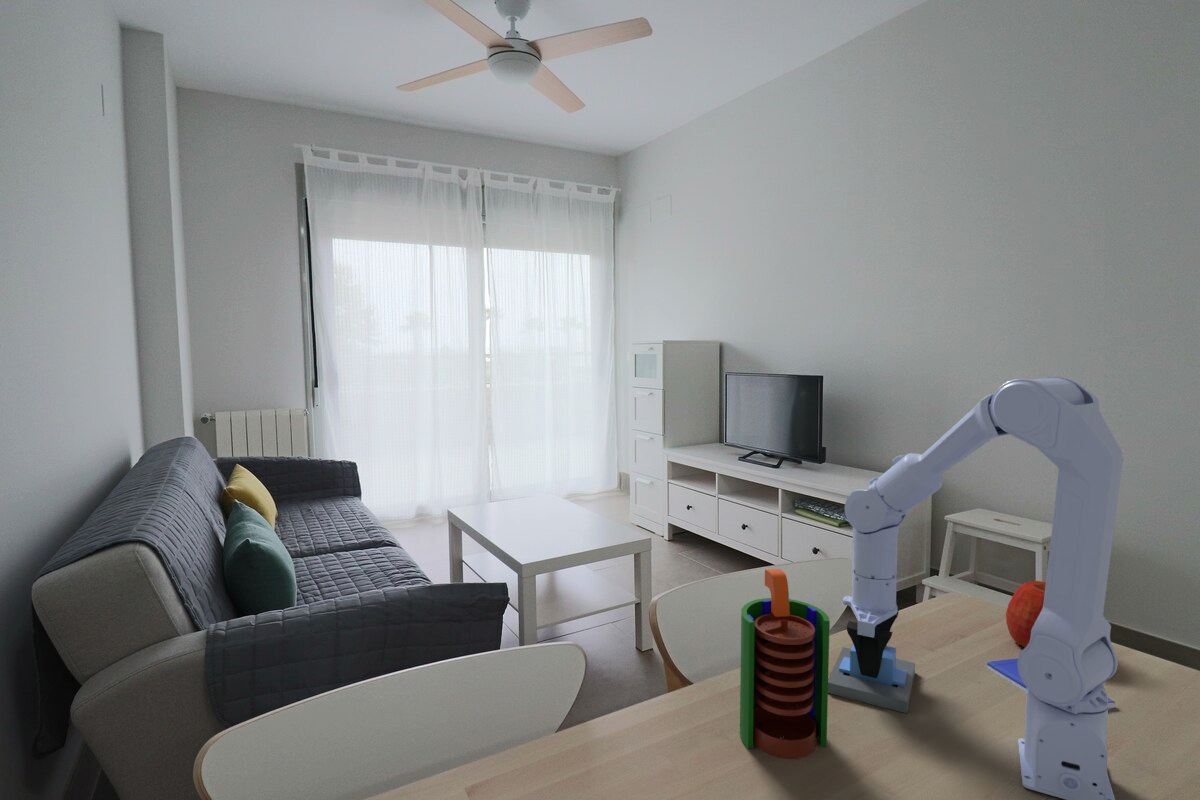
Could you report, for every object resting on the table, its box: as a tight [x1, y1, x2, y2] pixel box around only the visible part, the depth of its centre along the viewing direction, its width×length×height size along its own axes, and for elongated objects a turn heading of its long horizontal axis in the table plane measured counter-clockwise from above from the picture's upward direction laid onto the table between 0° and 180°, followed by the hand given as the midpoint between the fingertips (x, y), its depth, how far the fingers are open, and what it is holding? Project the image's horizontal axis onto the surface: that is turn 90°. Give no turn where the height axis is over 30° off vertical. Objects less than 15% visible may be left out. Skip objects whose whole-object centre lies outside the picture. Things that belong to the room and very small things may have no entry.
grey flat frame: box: [828, 646, 916, 714], centre depth 89 cm, size 12×10×2 cm
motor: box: [739, 568, 831, 760], centre depth 76 cm, size 10×9×20 cm
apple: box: [1005, 580, 1046, 648], centre depth 98 cm, size 11×11×11 cm
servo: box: [839, 643, 907, 687], centre depth 89 cm, size 4×8×6 cm, turn 59°
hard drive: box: [986, 657, 1116, 710], centre depth 87 cm, size 2×8×12 cm
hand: (872, 666), depth 89 cm, fingers open, 5 cm apart
